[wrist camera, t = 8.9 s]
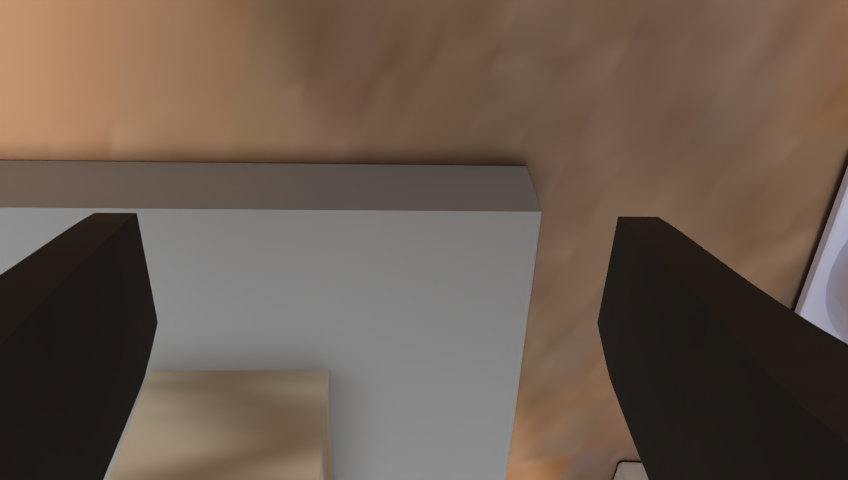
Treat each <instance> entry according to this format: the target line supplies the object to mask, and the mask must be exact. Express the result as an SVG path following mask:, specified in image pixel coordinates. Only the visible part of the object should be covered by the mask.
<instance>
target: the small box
mask: <svg viewBox="0 0 848 480" xmlns="http://www.w3.org/2000/svg"><path fill="white" fill-rule="evenodd" d="M614 480H648V477H647V474H646V472H645V469H644V467H643V464H642V463H635V462H621V463H620V464H619V465H618V468H617V471H616V474H615V477H614Z"/></svg>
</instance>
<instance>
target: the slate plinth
mask: <svg viewBox="0 0 848 480" xmlns="http://www.w3.org/2000/svg"><path fill="white" fill-rule="evenodd" d="M93 213H137V217H138V222H139V227H140V232H141V237H142V243H143V248H144V253H145V258H146V263H147V269H148V274H149V279H150V284H151V289H152V295H153V300H154V305H155V310H156V315H157V321H158V324H157V329H156V333H155V337H154V342H153V346H152V350H151V355H150V358H149V362H148V366H147V370H146V374H145V377H144V381H143V383H142V386H141V388H140V391H139V394H138V396H137V399H136V401H135V404H134V406H133V409H132V411H131V413H130V416H129V418H128V421H127V423H126V426H125V428H124V431H123V433H122V436H121V438H120V440H119V443H118V445H117V448H116V450H115V453H114V455H113V457H112V460H111V462H110V465H109V467H108V470H107V472H106V474H105V477H104V479H103V480H109V478H110V475H111V472H112V470H113V467H114V464H115V462H116V459H117V456H118V454H119V451H120V448H121V446H122V443H123V440H124V438H125V435H126V432H127V430H128V427H129V425H130V422H131V419H132V417H133V414H134V411H135V409H136V406H137V403H138V401H139V398H140V395H141V393H142V390H143V387H144V385H145V382H146V379H147V377H148V374H149V371H244V370H329V385H330V405H331V426H332V446H333V467H334V480H506V476H507V468H508V461H509V453H510V446H511V439H512V431H513V424H514V416H515V409H516V401H517V394H518V386H519V379H520V371H521V364H522V356H523V349H524V341H525V334H526V326H527V319H528V311H529V304H530V296H531V289H532V281H533V274H534V266H535V259H536V251H537V244H538V236H539V229H540V221H541V214H542V211H541V208H540V205H539V202H538V199H537V196H536V193H535V190H534V187H533V184H532V181H531V178H530V175H529V172H528V169H527V166H476V165H385V164H294V163H203V162H112V161H21V160H0V275H1V274H2V273H4V272H5V271H7V270H8V269H10V268H11V267H13V266H14V265H16V264H17V263H19V262H20V261H22V260H23V259H25V258H26V257H28V256H29V255H30V254H32V253H33V252H35V251H36V250H38V249H39V248H41V247H42V246H44V245H45V244H47V243H48V242H49V241H51V240H52V239H54V238H55V237H57V236H58V235H60V234H61V233H63V232H64V231H66V230H67V229H69V228H70V227H72V226H73V225H75V224H76V223H78V222H80V221H81V220H83V219H84V218H86V217H88V216H90V215H92V214H93Z"/></svg>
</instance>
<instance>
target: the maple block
mask: <svg viewBox="0 0 848 480" xmlns="http://www.w3.org/2000/svg"><path fill="white" fill-rule="evenodd" d="M109 480H334V467H333V446H332V426H331V405H330V385H329V370H244V371H149V374H148V377H147V379H146V382H145V385H144V387H143V390H142V393H141V395H140V398H139V401H138V403H137V406H136V409H135V411H134V414H133V417H132V419H131V422H130V425H129V427H128V430H127V432H126V435H125V438H124V440H123V443H122V446H121V448H120V451H119V454H118V456H117V459H116V462H115V464H114V467H113V470H112V472H111V475H110V478H109Z"/></svg>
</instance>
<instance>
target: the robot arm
mask: <svg viewBox="0 0 848 480" xmlns="http://www.w3.org/2000/svg"><path fill="white" fill-rule="evenodd" d="M157 324H158V321H157V315H156V310H155V305H154V300H153V295H152V289H151V284H150V279H149V274H148V269H147V263H146V258H145V253H144V248H143V243H142V237H141V232H140V227H139V222H138V217H137V213H93V214H92V215H90V216H88V217H86V218H84V219H83V220H81V221H80V222H78V223H76V224H75V225H73V226H72V227H70V228H69V229H67V230H66V231H64V232H63V233H61V234H60V235H58V236H57V237H55V238H54V239H52V240H51V241H49V242H48V243H47V244H45V245H44V246H42V247H41V248H39V249H38V250H36V251H35V252H33V253H32V254H30V255H29V256H28V257H26V258H25V259H23V260H22V261H20V262H19V263H17V264H16V265H14V266H13V267H11V268H10V269H8V270H7V271H5V272H4V273H2V274H1V275H0V480H103V479H104V477H105V474H106V472H107V470H108V467H109V465H110V462H111V460H112V457H113V455H114V453H115V450H116V448H117V445H118V443H119V440H120V438H121V436H122V433H123V431H124V428H125V426H126V423H127V421H128V418H129V416H130V413H131V411H132V409H133V406H134V404H135V401H136V399H137V396H138V394H139V391H140V388H141V386H142V383H143V381H144V377H145V374H146V370H147V366H148V362H149V358H150V355H151V350H152V346H153V342H154V337H155V333H156V329H157ZM598 327H599V332H600V337H601V341H602V346H603V351H604V355H605V360H606V364H607V368H608V372H609V376H610V380H611V382H612V385H613V388H614V391H615V393H616V396H617V399H618V401H619V404H620V407H621V409H622V412H623V415H624V417H625V420H626V423H627V425H628V428H629V430H630V433H631V436H632V438H633V441H634V443H635V446H636V448H637V451H638V454H639V456H640V459H641V461H642V464H643V467H644V469H645V472H646V474H647V477H648V480H848V167H847V169H846V172H845V175H844V178H843V180H842V183H841V186H840V189H839V191H838V194H837V197H836V200H835V202H834V205H833V208H832V210H831V213H830V216H829V219H828V221H827V224H826V227H825V230H824V232H823V235H822V238H821V241H820V243H819V246H818V249H817V251H816V254H815V257H814V260H813V262H812V265H811V268H810V271H809V273H808V276H807V279H806V282H805V284H804V287H803V290H802V292H801V295H800V298H799V301H798V303H797V306H796V309H795V312H794V311H792V310H790V309H789V308H787V307H786V306H784V305H783V304H781V303H779V302H778V301H777V300H775V299H774V298H772V297H771V296H769V295H768V294H766V293H765V292H763V291H762V290H760V289H759V288H757V287H756V286H755V285H753V284H752V283H750V282H749V281H747V280H746V279H745V278H743V277H742V276H740V275H739V274H738V273H736V272H735V271H733V270H732V269H731V268H729V267H728V266H727V265H725V264H724V263H722V262H721V261H720V260H718V259H717V258H716V257H714V256H713V255H712V254H710V253H709V252H708V251H706V250H705V249H703V248H702V247H701V246H699V245H698V244H697V243H695V242H694V241H693V240H691V239H690V238H689V237H687V236H686V235H684V234H683V233H682V232H680V231H679V230H677V229H676V228H674V227H673V226H672V225H670V224H669V223H667V222H665V221H664V220H662V219H660V218H659V217H618V221H617V226H616V231H615V236H614V241H613V246H612V252H611V257H610V262H609V267H608V272H607V277H606V282H605V287H604V292H603V297H602V303H601V308H600V313H599V318H598Z"/></svg>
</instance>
